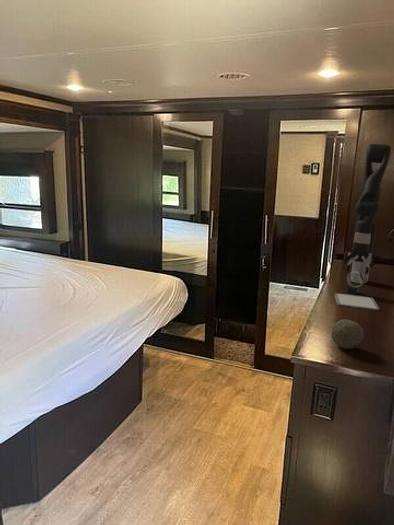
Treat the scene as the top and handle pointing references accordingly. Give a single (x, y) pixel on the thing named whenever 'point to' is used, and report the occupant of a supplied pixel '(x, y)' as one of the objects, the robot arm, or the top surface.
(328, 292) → the top surface
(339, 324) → the decorative stone
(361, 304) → the mat
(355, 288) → the watch
